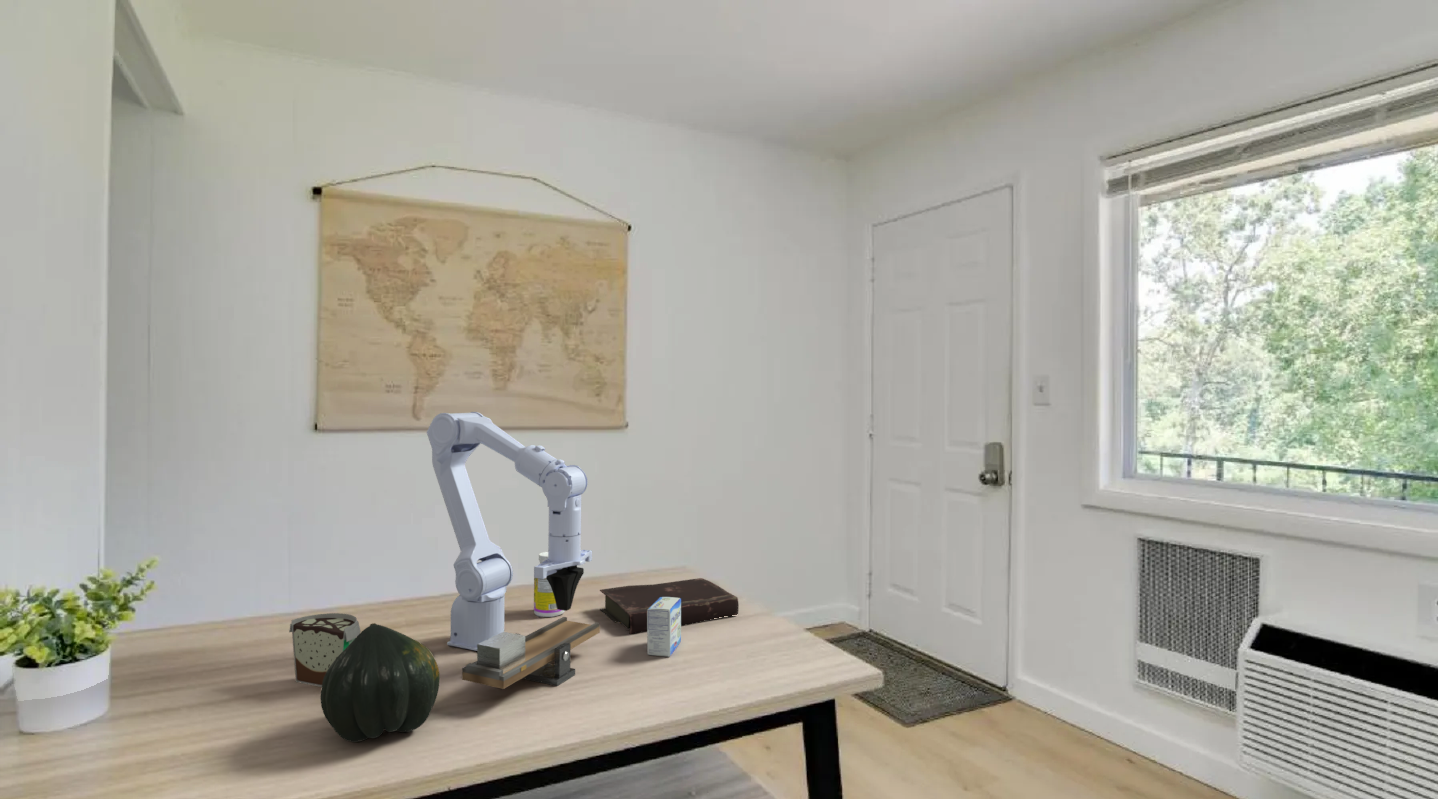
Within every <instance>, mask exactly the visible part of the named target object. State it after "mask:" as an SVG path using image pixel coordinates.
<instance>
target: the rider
mask: <svg viewBox="0 0 1438 799" xmlns="http://www.w3.org/2000/svg"><path fill="white" fill-rule="evenodd" d="M519 634H520V633H517V634H516V633H512V632H508V631H504V632H502V633H500V634H498V635H495V636H493V637H491V638H489V639H487V640H485V641H483V642H481V643H479V644H477V652H476V661H477V665H481V666H485V667H490V668H495V669H500V670H503V673H504V672H505V671H507V670H509V669H511V668H513V667H514V666H516V665H518V664H520V663H522V662H523V661H525V636H526V635H523V634H520V635H519Z"/></svg>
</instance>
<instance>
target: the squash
mask: <svg viewBox="0 0 1438 799" xmlns="http://www.w3.org/2000/svg"><path fill="white" fill-rule="evenodd" d="M439 668H440V667H439V666H438V663H437V660H436V658H435V656H434V654H433V653H432V652H431V650H430V649H429V648H428V647H426V645H424V644H422V643H421V642H420V641H417V640H416V639H414V638H412V637H410V636H408V635H406V634H403V633H402V632H399V631H397V630H394V629H392V628H390V627H388V626H384V625H381V624H377V623H375V622H374V623H373V622H372V623H370V624H369V626H367V627H365V628H364V629H363V630H362V631H361V632H360V634H359V635H358V636H357V637H356V638H355V639H354V640H353V641H352V642H351V643H350V645H349V646H348V647H347V648H346V649H345V650H344V651H343V652H342V653H341V654H340V655H339V656H338V657H337V658H336V659H335V661H334V662H333V663H332V665H331V666H330V667H329V669H328V670H327V672H326V674H325V676H324V679H323V682H322V687H320V688H321V690H320V696H319V699H320V705H321V706H320V707H321V710H322V712H323V715H324V718H325V719H326V721H327V723H328V724H329V725H330V727H332V728H333V730H334V732H335V733H336V734H337V735H338V737H340V738H342V739H343V740H345V741H348V742H353V743H354V742H362V741H365V740H368V739H369V738H371V739H375V738H378V737H380V736H381V735H382V734H383V733H384V732H385V731H386V732H388V733H390V732H396V731H398V732H401V733H408V732H412V731H415V730H417V729H419V728H420V727H422V725H423V724H424V723H426V721H427V719H428V718H429V716H430V714H431V712H432V709H433V706H434V705H435V703H436V700H437V697H438V695H439V694H438V693H439V688H440V678H441V677H440V669H439Z"/></svg>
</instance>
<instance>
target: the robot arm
mask: <svg viewBox="0 0 1438 799" xmlns="http://www.w3.org/2000/svg"><path fill="white" fill-rule="evenodd" d="M426 434H427V437H428V438H427V439H428V441H429V444H430V446H431V463H432V467H433V471H434V474H435V477H436V481H437V483H438V485H439V489H440V492H441V495H442V498H443V500H444V504H445V508H446V510H447V513H448V516H449V519H450V523H451V525H452V528H453V529H452V530H453V532H454V534H455V538H456V541H457V545H458V548H459V551H460V552H459V554H458V556H457V557H456V559H455V561H454V563H453V568H454V572H455V579H454V580H455V581H454V582H455V587H456V590H457V592H458V594H459V595H458V596H457V597H456V598H455V599H454V600H453V602H452V605H451V607H450V608H451V609H450V640H449V641H447V643H446V645H447V646H451V647H455V648H461V649H466V650H471V651H475V652H476V651H477V644H479V643H481V642H483V641H485V640H487V639H489V638H491V637H493V636H495V635H498V634H500V633H502V632H505V598H506V597H505V593H507V586H509V585H510V584H511V582H512V580H513V577H514V570H513V567H512V564H511V562H510V561H509V560H508V558H507V557H506V556H505V554H504V552H503V550H502V547H500V546H499V545H497V544H496V543H495V542H493V541H491V539H490V537H489V533H488V531H487V527H486V526H485V522H484V519H483V515H482V513H481V510H480V506H479V504H478V501H477V498H476V495H475V494H476V493H475V492H474V489H473V485H472V482H471V479H470V477H469V474H468V471H467V467H466V464H467V463H466V462H467V461H468V459H469V457H470V456H471V454H473V453H474V452H475V451H476V450H477V448H478V447H479V446H480V445H481V444H482V445H483V446H484V447H487V448H488V449H491V450H492V451H494V452H495V453H498V454H499V455H501V456H503V457H505V458H507V459H508V460H510V461H512V462H514V468H515V470H516V472H517V473H519V474H520V475H522V476H523V477H524V478H526V479H528V480H530V481H531V482H533V483H534V484H535V485H537V486H538V487H541V489H542V492H543V494H544V496H545V497H546V501H547V507H548V534H547V536H548V543H547V544H548V546H547V549H548V551H547V552H548V558H547V559H546V560H545V561H543V562H542V563H541V564H540V563H539V564H537V565H535V566H533V579H534V578H540V579H544V578H546V579H547V580H548V582H549V584H550V586H551V588H552V591H553V594H554V598H555V602H556V606H557V609H558V610H564V611H565V612H568V611H569V610H571V609H572V605H573V601H574V597H575V593H576V590H577V587H578V586H579V583H580V581H581V578H582V577H583V575H584V573H585V572H584V571H585V570H584V568H583V567H578V566H583V565H585V564H586V562H587V563H590V562H592V561H593V551H592V550H588V549H582V495H583V494H584V493H585V492H586V490H587V488H588V485H589V484H588V483H589V482H588V477H587V474H586V472H585V471H584V469H583V468H581V467H580V466H579V465H576V464H570V465H566V464H565V460H564V459H561V458H560V459H558V458H556V457H554V455H551V454H550V453H548V452H547V451H545V450H546V447H545V446H543V445H542V444H541V445H539V444H538V445H535V444H530V445H527V446H525V445H524V444H522V443H521V442H519V441H518V439H515V438H514V437H513V436H511V435H510V434H509V433H507V432H506V431H504V429H502V428H500V427H499V426H498V425H497V424H496V423H493V420H492V419H491V418H489V417H487V416H484V415H483V414H482V413H481V412H478V411H470V412H454V413H453V412H452V413H449V412H440V413H438V414H436V415H435V416H434V417H433V419H432V420H431V422H430V424H429V426H428V429H427V431H426ZM478 561H479V562H478Z"/></svg>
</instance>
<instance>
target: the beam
mask: <svg viewBox="0 0 1438 799" xmlns="http://www.w3.org/2000/svg"><path fill="white" fill-rule="evenodd" d="M600 625H601V623H600V622H599V621H598V622H594V623H592V624H590V623H589V624H588V623H583V622H577V621H572V620H568V617H566V616H562V617H560V618H558V619H557V620H555V621H552V622H551V623H548V624H547V625H545V626H543V627H541V628H539V629H536V630H535V631H533V632H531V633H529V634H527V635H524V636H525V661H523V662H522V663H520V664H518V665H516V666H514V667H513V668H511V669H509V670H507V671H505V672H504V673H503V670H500V669H495V668H490V667H485V666H481V665H477V660H476V661H474V662H470V663H468V664H466V665H465V666H463V667H462V668H461V669H462V670H461V671H462V672H461V673H462V674H461V679H462V681H466V682H471V683H475V684H480V685H484V686H488V687H493V688H498V689H501V690H505V689H506V688H508V687H509V686H511V685H513V684H514V683H516V682H518V681H520V680H523V679H522V678H523V677H525V676H527V675H528V674H530V673H532V672H533V671H535V670H537V669H539V668H540V667H542V666H544V665H545V664H547V663H548V664H550V663H551V662H552V661H555V648H556V647H558V646H560V645H562V644H564V643H571V648H570V651H572V650H573V649H574V648H575V647H578V646H580V645H581V644H583V643H585V642H586V641H588V640H590V639H592V638H593V637H595V636H596V635H598V634H600V633H601V626H600Z"/></svg>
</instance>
